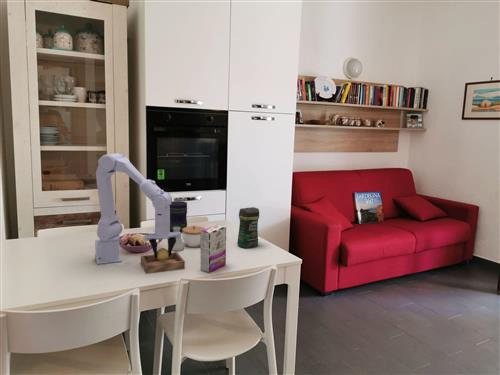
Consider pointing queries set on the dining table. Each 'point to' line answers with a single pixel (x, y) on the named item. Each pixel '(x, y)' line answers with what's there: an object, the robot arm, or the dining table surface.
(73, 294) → the dining table surface
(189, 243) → the lidded jar
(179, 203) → the storage jar
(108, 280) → the dining table surface
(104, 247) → the robot arm
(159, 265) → the tray
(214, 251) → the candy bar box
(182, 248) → the flask
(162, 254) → the ball
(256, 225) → the coffee jar
